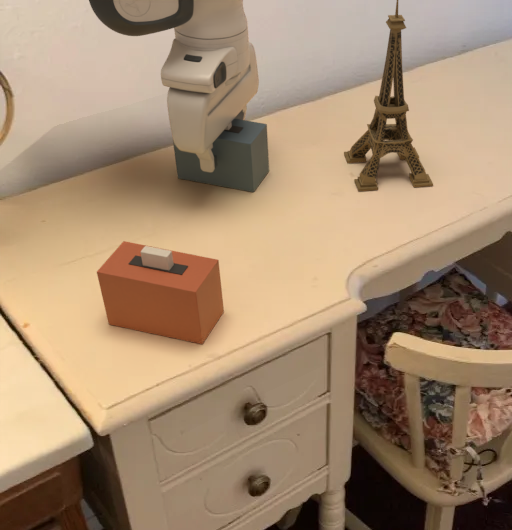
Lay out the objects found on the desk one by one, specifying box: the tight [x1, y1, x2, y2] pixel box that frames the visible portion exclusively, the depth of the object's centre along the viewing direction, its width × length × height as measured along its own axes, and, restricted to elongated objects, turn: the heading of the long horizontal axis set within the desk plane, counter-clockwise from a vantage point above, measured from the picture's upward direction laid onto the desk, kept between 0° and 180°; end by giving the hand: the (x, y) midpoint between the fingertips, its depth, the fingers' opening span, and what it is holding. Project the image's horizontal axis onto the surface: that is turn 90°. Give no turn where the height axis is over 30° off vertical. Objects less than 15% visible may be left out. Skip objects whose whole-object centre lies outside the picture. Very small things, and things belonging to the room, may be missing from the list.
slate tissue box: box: [171, 119, 270, 193], centre depth 112 cm, size 11×6×9 cm, turn 75°
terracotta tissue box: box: [96, 240, 225, 345], centre depth 89 cm, size 11×6×9 cm, turn 76°
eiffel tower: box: [343, 0, 434, 192], centre depth 109 cm, size 11×11×25 cm
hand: (223, 152), depth 112 cm, fingers open, 8 cm apart
